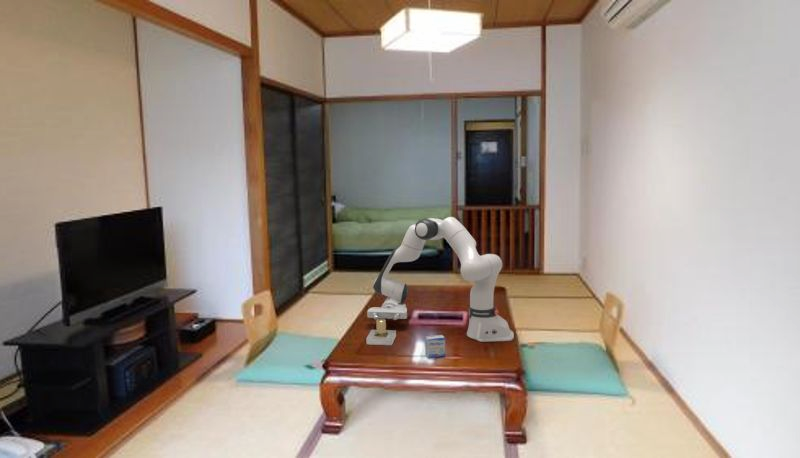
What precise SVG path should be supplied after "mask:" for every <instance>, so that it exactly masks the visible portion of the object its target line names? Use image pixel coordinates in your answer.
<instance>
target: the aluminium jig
mask: <svg viewBox="0 0 800 458" xmlns="http://www.w3.org/2000/svg"><path fill="white" fill-rule="evenodd" d="M396 336H397V330H396V329H395V330H390V329H386V337H379V336H377V329H371V330H370V332H369V333H368V335H367V337H366V339H365V340H366V345H369V346H370V345H371V346H372V345H373V346H376V345H377V346H393V343H394V341H395V339H396Z"/></svg>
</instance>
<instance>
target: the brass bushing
mask: <svg viewBox="0 0 800 458" xmlns="http://www.w3.org/2000/svg"><path fill="white" fill-rule="evenodd" d="M375 321H376V330H377V336H379V337H386V330H387V323H386V321H387V320H386V318H378V319H375Z"/></svg>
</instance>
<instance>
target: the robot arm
mask: <svg viewBox="0 0 800 458" xmlns="http://www.w3.org/2000/svg"><path fill="white" fill-rule="evenodd" d="M443 239H445V240H446V242H447V243H448V244H449V246H450V247H451V248H452V250H453V252H454V253H455V254H456V256H457V257H458V259H459V262H460V275H461V277H462V279H463V280H465V282H473V285H472V287H471V289H470V293H469V296H470V297H469V308H468V317H469V321H468V327H467V331H466V336H467V337H468V338H470V339H473V340H476V341H478V342H481V343H482V342H484V343H485V342H511V341H513V340H514V339H515V336H514V335H515V334H514V331H513V330H512V329H510V327H509V324H508V321H507V320H506V319H504V318H503V317H502V316H500V315H499V310H498V308H497V307H495V306H494V292H495V286H496V284H497V279H498V276H499V273H500V272H501V270H502V268H503V261H502V259H501V257H500V256H499V255H497V254H496V253H495V254H493V253H485V254H481V255H480V254H479V252H478V250H477V248H476V247H477V241H476V239H475V238H474V237H473V235H471V234H470V232H469V231H468V230H467V229H466V227H465V226H464V225H463V224H462V223H461V222H460V221H459V220H458V219H457V218H456V217H454V216H449V217H446V218H436V217H435V218H432V217H429V218H422V219H419V220H418V221H417V222H416V223H415V224H411V225H410V226H409V227H408V228H407V230H406V232H405V235H404V237H403V240H402V242H401V245H400V246H399V247H398V248H395V249H393V250H392V251H391V253H390V255H389V256H388V258H387V260H386V261H385V263H384V265H383V267H382V269H381V271H380V273H379V274H378V276H377V277H376V278H375V280H374V281H373V285H372V289H373V290H374V292H375V293H376V294H378V295H383V296H385V297H387V298H386V299H385V300H384V302H383V303H382V305H381V307H377V306H375V307H373V306H372V307H370V308H368V310H367V312H366V316H367V318H369V319H374V320H377V319H388V320H391V319H392V320H393V321H396V320H405V319H408V308H407V304H406V303H405V301H406V299H407V296H408V294H409V288H408V287H409V286H408V285H407V283H405V282H403V281H400V280H397V279H395V278H392V277H389V276H388V275H389V273H390V271H391V269H392V267H393V266H394V265H395V264H397V263H409V262H413V261H416V260H418V259H419V258H420V257H421V254H422V251H423V249H424V247H425V243H426V241H438V240H443Z"/></svg>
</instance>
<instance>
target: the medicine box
mask: <svg viewBox="0 0 800 458" xmlns="http://www.w3.org/2000/svg"><path fill="white" fill-rule="evenodd" d="M424 347H425V348H424V352H425V354H424V355H425V356H426V357H427V358H428V359H433V357H435V358H442V357H446V338H445V336H444V335H442V334H436V335H428V336H424ZM441 356H442V357H441Z"/></svg>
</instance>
